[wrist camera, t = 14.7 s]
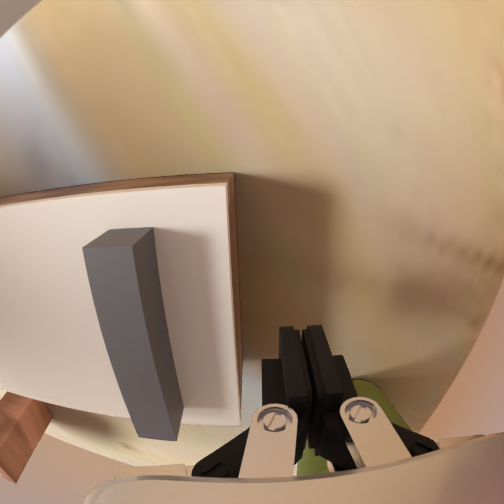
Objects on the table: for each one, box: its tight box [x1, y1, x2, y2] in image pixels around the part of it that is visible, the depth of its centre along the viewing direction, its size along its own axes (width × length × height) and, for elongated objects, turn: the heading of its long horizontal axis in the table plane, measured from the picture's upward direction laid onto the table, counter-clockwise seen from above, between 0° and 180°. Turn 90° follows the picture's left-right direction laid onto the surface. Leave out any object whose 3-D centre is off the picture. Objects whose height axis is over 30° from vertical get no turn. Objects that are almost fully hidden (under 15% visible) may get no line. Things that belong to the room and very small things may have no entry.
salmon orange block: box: [0, 391, 53, 484], centre depth 20 cm, size 4×4×10 cm
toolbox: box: [0, 172, 243, 410], centre depth 18 cm, size 18×13×5 cm
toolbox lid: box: [0, 183, 241, 441], centre depth 13 cm, size 18×13×4 cm
